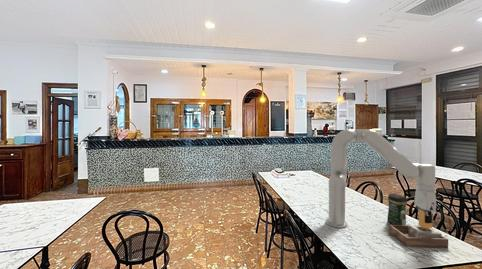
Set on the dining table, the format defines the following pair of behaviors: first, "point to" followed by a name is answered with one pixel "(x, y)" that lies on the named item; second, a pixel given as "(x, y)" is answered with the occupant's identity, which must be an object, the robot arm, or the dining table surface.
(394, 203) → the coffee jar
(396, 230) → the walled box
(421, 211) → the connector
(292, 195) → the dining table surface
